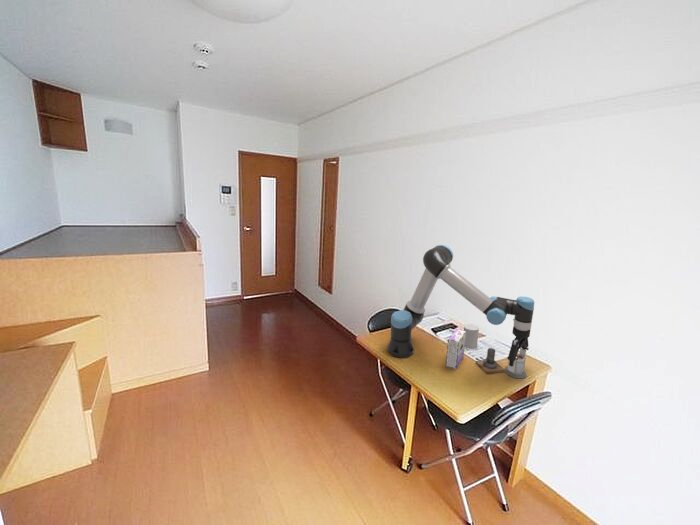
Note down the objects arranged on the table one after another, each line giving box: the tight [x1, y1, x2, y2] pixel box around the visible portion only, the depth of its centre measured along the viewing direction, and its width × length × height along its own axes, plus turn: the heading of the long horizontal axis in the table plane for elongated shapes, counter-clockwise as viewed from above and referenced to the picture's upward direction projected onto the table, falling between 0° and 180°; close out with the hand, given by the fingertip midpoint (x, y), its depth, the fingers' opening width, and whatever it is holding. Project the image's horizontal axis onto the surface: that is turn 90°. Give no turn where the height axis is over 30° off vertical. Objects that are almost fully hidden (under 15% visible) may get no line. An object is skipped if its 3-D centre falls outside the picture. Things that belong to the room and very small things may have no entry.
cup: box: [463, 323, 480, 350], centre depth 183 cm, size 8×8×12 cm
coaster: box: [504, 365, 528, 380], centre depth 157 cm, size 10×10×1 cm
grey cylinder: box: [507, 352, 527, 376], centre depth 156 cm, size 7×7×9 cm
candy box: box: [445, 328, 466, 370], centre depth 166 cm, size 14×6×16 cm, turn 145°
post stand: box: [475, 347, 505, 375], centre depth 161 cm, size 10×10×10 cm
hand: (516, 365), depth 156 cm, fingers open, 13 cm apart
